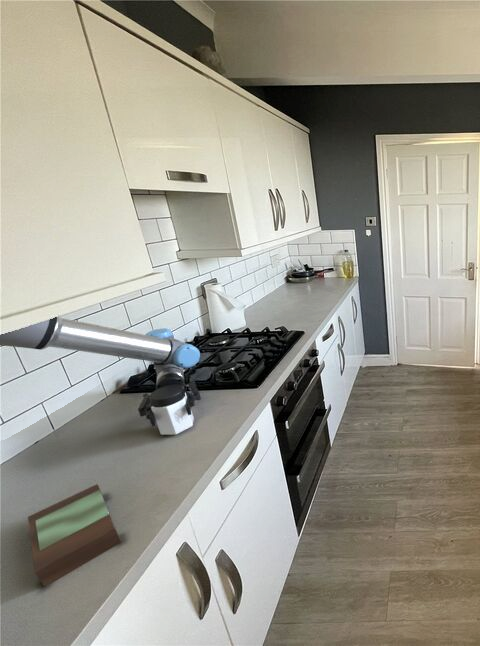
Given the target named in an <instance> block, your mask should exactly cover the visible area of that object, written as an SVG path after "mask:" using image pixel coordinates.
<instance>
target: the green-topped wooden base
mask: <svg viewBox="0 0 480 646" xmlns="http://www.w3.org/2000/svg"><path fill="white" fill-rule="evenodd" d="M27 522H28V529H29V530H28V531H29V536H30V537H29V538H30V546H31V553H32V560H33V569H34V574H35V575H36V577H37V578H38V580H39V581H40V583H41V584H42V585H43V588H46V587H48V586H50V585H51V584H53V583H54V582H56V581H58V580H59V579H61V578H63V577H65V576H66V575H68V574H70V573H71V572H74V571H75V570H77V569H78V568H81V567H82V566H84V565H86V564H87V563H88V562H90V561H92V560H94V559H96V558H97V557H99V556H100V555H102V554H104V553H106V552H107V551H110V550H111V549H112V548H114V547H117V546H118V545H119V544H121V543H122V539H121V536H120V535H119V533H118V531H117V528H116V526H115V524H114V521H113V519H112V516H111V513H110V511H109V508H108V505H107V504H106V499H105V496H104V494H103V492H102V490H101V488H100V486H99V484H98V483H96V484H94V485H92V486H90V487H88V488H85V489H84V490H81V491H79V492H77V493H75V494H73V495H71V496H69V497H67V498H65V499H62V500H60V501H58V502H56V503H54V504H52V505H50V506H48V507H46V508H43V509H41V510H39V511H37V512H35V513H33V514H30V515H29V516H27Z"/></svg>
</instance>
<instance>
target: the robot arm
mask: <svg viewBox="0 0 480 646" xmlns="http://www.w3.org/2000/svg"><path fill="white" fill-rule="evenodd" d="M0 346H4V347H14V348H22V349H23V348H24V349H31V350H40V351H42V350H45V349H47V348H55V349H62V350H69V351H75V352H76V351H77V352H84V353H90V354H98V355H104V356H105V355H106V356H111V357H119V358H126V359H132V360H139V361H147V362H152V363H153V367H154V369H155V373H156V384H155V391H156V390H158V389H160V388H163V387H166V386H170V385H181V386H182V387H183V389H184V391H185V393H186V395H187V400H186V410H187V413H188V415H191V411H192V407H195V405H196V404H195V403H196V402H195V401H200V400H202V397H201V393H200V391H199V389H198V387H197V384H196V381H195V380H193V381H190V382H189V383H187V384H186V383H185V373H184V371H185V369H189V368H192V367H194V366H195V365H197V364H198V363H199V362H200V359H201V358H200V357H201V352H200V350H199V349H198V348H197V347H196V346H195V345H193V344H191V343H187V342H184V341H182V340H179V339H176V338H175V337H174V334H173V331H172V330H171V329H170V328H164V327H163V328H157V329H153V330H150V331H148V332H147V333H145V334H143V333H138V332H133V331H128V330H124V329H119V328H114V327H108V326H103V325H99V324H93V323H88V322H84V321H79V320H74V319H69V318H64V317H61V316H60V315H59V316H58V317H55V318H53V319H50V320H47V321H44V322H40V323H37V324H34V325H30V326H28V327H25V328H21V329H19V330H15V331H12V332H8V333H5V334H1V335H0ZM187 389H188V390H189V391H190V392H188V391H187ZM150 394H151V393H149V394H148V393H144V394H142V397H143V398H142V400H141V402H140V404H139V406H138V408H137V411H138V413H139V416H140V418H142V417H145V418H146V420H149V422H150V424H151V427H156V426H157V423H156V419H155V416H154V413H153V412H152V409H151V407H152V405H151V402H150V399H149V396H150Z"/></svg>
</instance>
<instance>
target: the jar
mask: <svg viewBox="0 0 480 646" xmlns="http://www.w3.org/2000/svg"><path fill="white" fill-rule="evenodd" d="M185 391H186V390H185ZM185 391H184V389H183V387H182V386H181V385H170V386H166V387H163V388H160V389H158V390H156V389H155V390H154V391H152V392H151V393H149V394H150V396H149V399H150V402H151V405H152V407H151V409H152V412H153V413H154V416H155V419H156V426H157V427H158V430H159V433H160V435H166V436H167V435H178V434H181V433H182V432H184V431H186V430H187V429H190V428H192V427H193V425H194V420H195V418H194V417H195V416H194V413H193V410H191V415H188V413H187V410H186V400H187V395H186V393H185Z"/></svg>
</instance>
